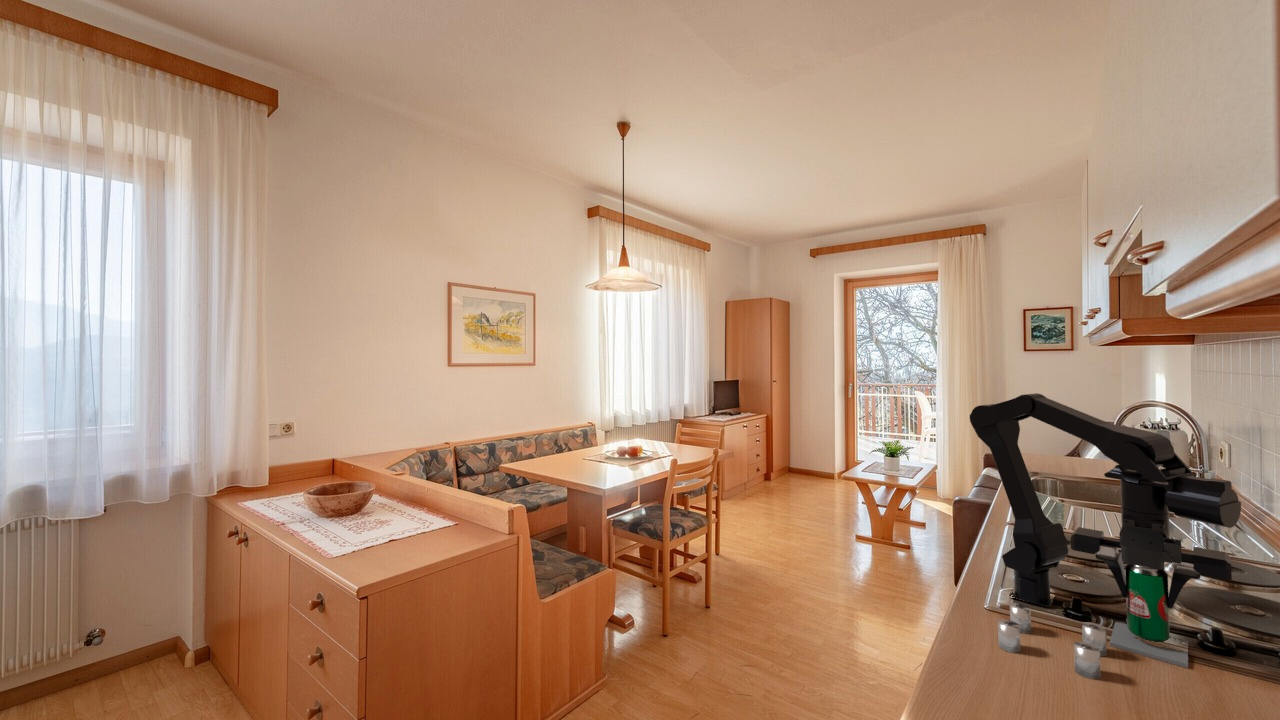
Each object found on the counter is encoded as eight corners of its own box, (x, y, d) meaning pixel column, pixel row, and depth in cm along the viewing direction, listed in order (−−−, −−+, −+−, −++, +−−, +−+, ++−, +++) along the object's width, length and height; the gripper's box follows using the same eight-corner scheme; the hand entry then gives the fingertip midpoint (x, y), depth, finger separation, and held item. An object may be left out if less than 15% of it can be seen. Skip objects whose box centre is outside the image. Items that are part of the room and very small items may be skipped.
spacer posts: (1012, 622, 94) (1011, 600, 94) (1108, 650, 85) (1107, 626, 85) (996, 647, 87) (995, 623, 87) (1099, 681, 77) (1098, 654, 77)
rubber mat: (1115, 625, 92) (1115, 621, 92) (1188, 644, 86) (1188, 640, 86) (1109, 645, 86) (1109, 642, 86) (1188, 668, 80) (1187, 664, 80)
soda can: (1119, 626, 89) (1117, 557, 89) (1151, 627, 88) (1149, 557, 88) (1144, 643, 84) (1142, 570, 84) (1178, 644, 83) (1176, 570, 83)
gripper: (1063, 509, 87) (1066, 601, 87) (1231, 535, 73) (1234, 644, 74) (1074, 495, 95) (1077, 579, 95) (1228, 516, 81) (1231, 614, 81)
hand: (1147, 602), depth 86 cm, fingers closed on soda can, 5 cm apart
